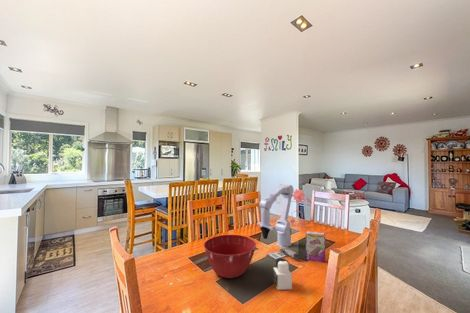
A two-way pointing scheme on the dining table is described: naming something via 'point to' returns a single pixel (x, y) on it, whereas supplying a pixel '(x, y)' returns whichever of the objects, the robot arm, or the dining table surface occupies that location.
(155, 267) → the dining table surface
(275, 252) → the label
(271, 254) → the label
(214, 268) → the mixing bowl
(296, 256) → the door handle
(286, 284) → the medicine bottle
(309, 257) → the candy bar box
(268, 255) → the plate
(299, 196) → the figurine
